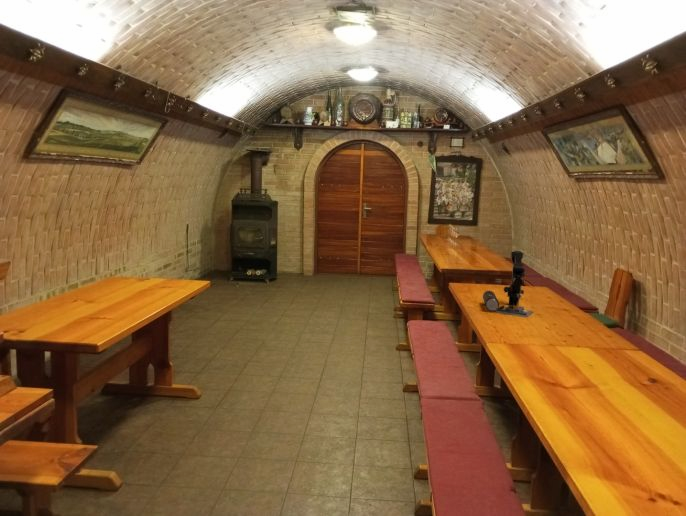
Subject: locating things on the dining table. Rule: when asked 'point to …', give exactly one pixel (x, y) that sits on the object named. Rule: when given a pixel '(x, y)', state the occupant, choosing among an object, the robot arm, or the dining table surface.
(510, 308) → the box
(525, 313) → the grey flat frame
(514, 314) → the panel
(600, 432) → the dining table surface
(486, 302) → the muzzle brake
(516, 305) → the toggle
